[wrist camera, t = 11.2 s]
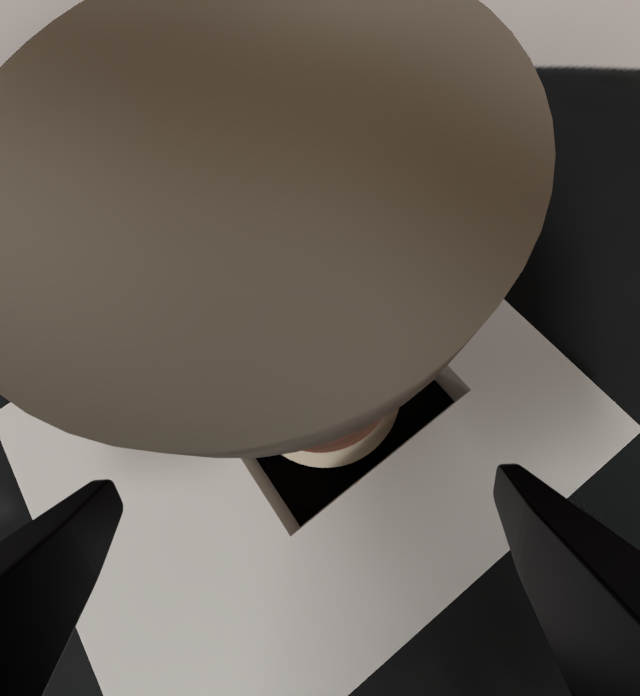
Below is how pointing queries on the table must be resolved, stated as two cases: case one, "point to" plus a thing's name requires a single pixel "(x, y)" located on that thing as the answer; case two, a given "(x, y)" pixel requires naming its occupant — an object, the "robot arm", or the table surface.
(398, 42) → the bobbin
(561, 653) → the robot arm
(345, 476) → the table surface
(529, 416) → the notched board
